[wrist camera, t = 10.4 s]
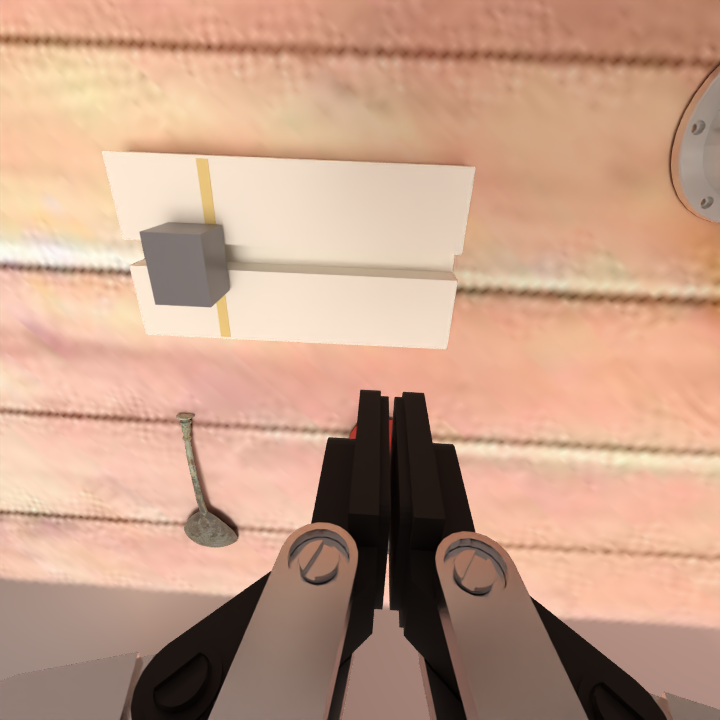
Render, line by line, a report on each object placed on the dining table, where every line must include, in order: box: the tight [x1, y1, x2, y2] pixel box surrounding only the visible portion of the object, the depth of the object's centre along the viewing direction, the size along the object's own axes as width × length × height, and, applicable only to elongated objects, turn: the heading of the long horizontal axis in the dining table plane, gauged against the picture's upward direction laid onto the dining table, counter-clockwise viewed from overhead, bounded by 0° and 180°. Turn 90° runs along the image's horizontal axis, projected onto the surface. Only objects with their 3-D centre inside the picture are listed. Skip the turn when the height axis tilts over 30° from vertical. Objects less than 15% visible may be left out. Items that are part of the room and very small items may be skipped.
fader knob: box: [139, 222, 230, 307], centre depth 29 cm, size 4×5×6 cm
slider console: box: [102, 151, 476, 349], centre depth 32 cm, size 26×14×4 cm, turn 88°
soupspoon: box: [176, 413, 238, 547], centre depth 46 cm, size 22×3×7 cm
